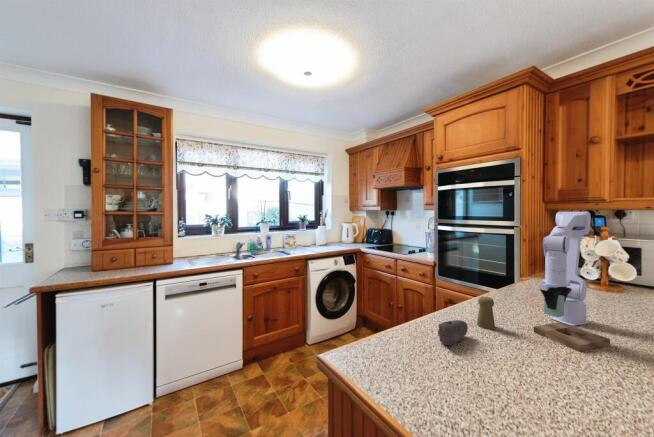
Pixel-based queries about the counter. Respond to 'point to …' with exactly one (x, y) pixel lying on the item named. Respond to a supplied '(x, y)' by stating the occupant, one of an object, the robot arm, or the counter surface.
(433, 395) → the counter surface
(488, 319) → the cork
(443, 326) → the perforated stone tool
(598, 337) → the walnut socket block
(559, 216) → the robot arm
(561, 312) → the teal peg
